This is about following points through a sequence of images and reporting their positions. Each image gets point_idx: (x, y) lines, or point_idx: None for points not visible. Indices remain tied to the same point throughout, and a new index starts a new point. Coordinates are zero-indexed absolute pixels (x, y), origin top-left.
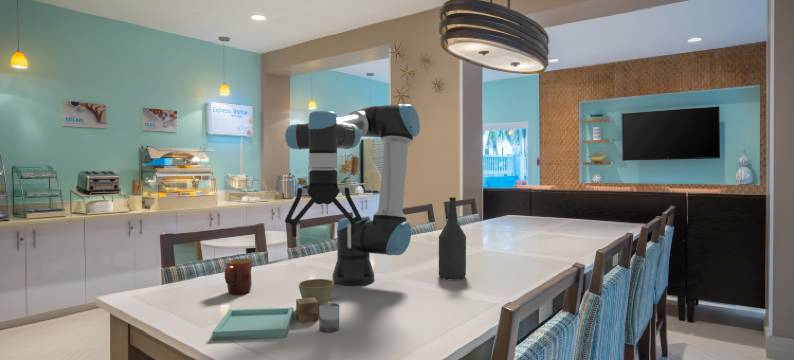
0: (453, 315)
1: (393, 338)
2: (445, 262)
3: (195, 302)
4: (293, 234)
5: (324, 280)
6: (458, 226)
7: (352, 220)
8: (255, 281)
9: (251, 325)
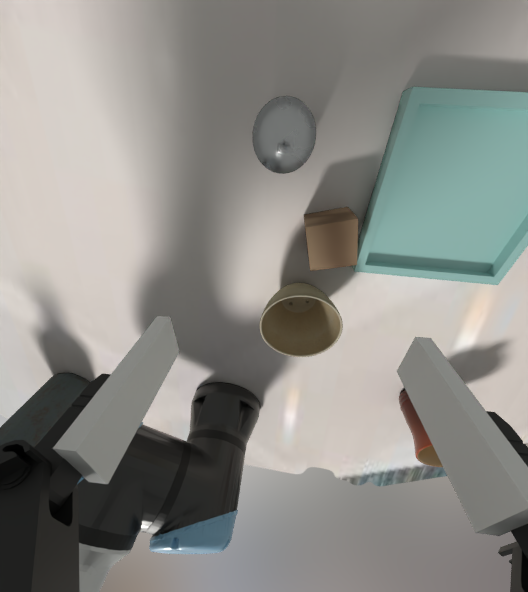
0: (14, 188)
1: (117, 13)
2: (61, 403)
3: (512, 366)
4: (502, 428)
5: (278, 348)
6: None
7: (7, 485)
8: (377, 428)
9: (473, 186)
